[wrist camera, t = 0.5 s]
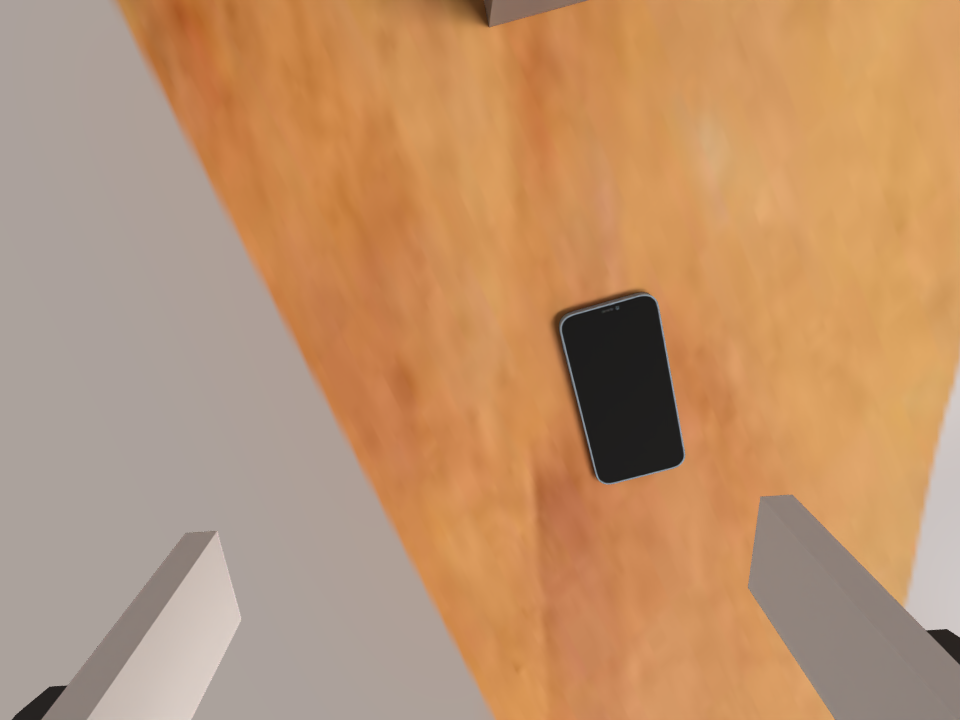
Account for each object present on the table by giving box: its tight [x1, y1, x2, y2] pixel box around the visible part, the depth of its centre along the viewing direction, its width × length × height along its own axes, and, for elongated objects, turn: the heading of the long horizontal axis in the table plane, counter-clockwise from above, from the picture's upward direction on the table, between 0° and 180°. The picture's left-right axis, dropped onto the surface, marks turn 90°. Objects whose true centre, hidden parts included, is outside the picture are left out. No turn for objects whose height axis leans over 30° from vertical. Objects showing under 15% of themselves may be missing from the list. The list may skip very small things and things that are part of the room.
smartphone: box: [559, 292, 685, 484], centre depth 42 cm, size 7×1×15 cm
